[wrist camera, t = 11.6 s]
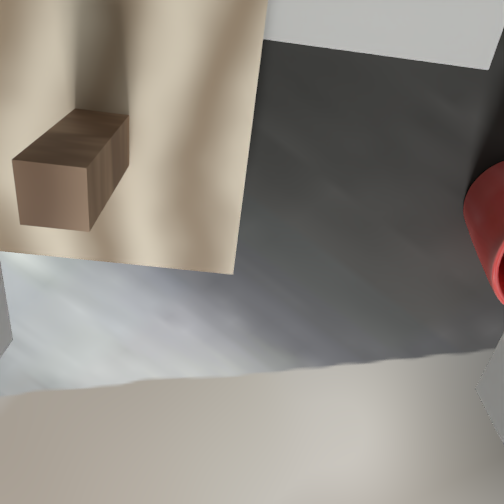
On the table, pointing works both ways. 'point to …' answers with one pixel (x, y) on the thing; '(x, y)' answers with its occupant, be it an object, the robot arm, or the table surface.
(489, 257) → the flower pot
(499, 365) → the robot arm
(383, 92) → the table surface
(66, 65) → the lid
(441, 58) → the tray
